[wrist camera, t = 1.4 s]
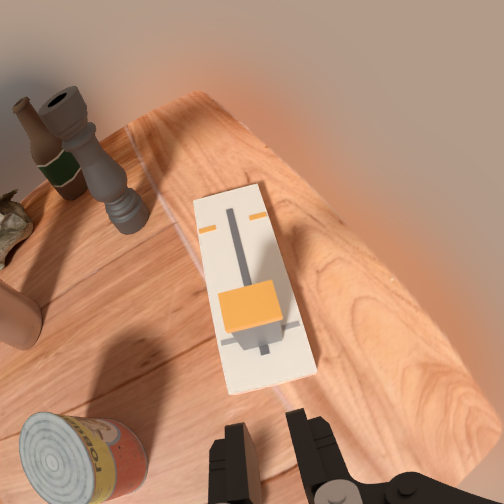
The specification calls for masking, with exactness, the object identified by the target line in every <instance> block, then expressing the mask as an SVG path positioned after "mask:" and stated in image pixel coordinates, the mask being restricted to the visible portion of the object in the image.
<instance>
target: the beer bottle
mask: <svg viewBox="0 0 504 504" xmlns="http://www.w3.org/2000/svg"><path fill="white" fill-rule="evenodd" d="M29 100H30V99H29V98H28V97H24V98H22V99H20V100H19V101H18V102H17V103H16V104H15V105H14V106H13V113H16V115H17V117H18V119H19V120H20V122H21V124H22V126H23V127H24V129H25V131H26V132H27V134H28V137H29V139H30V141H31V154H32V158H33V160H34V162H35V163H36V165H37V166H38V168H39V169H40V170H41V171H42V173H43V174H44V175H45V177H46V178H47V179H48V180H49V182H50V183H51V184H52V185H53V187H54V188H55V189H56V190H57V192H58V193H59V194H60V195H61V196H62V197H63V198H64V199H70V200H74V199H75V198H77V197H79V196H80V195H82V194H83V193H84V192H85V190H86V189H87V187H88V186H87V183H86V180H85V178H84V175H83V172H82V169H81V166H80V165H79V163H78V162H77V160H76V159H75V157H74V156H73V154H72V153H70V152H65V151H64V149H63V148H62V141H63V140H61V139H60V138H58V137H55V135H54V134H51V133H50V132H49V130H48V129H47V127H46V126H45V124H44V122H43V121H42V119H41V118H40V116H39V115H38V113H37V112H36V111H35V109H34V108H33V106H32V105H31V104H30V102H29Z"/></svg>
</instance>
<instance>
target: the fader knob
mask: <svg viewBox="0 0 504 504" xmlns="http://www.w3.org/2000/svg"><path fill="white" fill-rule="evenodd" d="M218 298H219V303H220V308H221V313H222V318H223V323H224V327H225V331H226V332H227V334H228V333H231V334H232V335H233V337H234V338H235V339H236V341H237V342H238V343H239V345H240V346H241V347H242V349H243V350H248V349H252V348H256V347H260V346H264V345H268V344H271V343H275V342H279V341H282V333H281V323H280V320H283V316H282V312H281V309H280V305H279V302H278V299H277V295H276V292H275V288H274V285H273V281H272V280H268V281H264V282H260V283H257V284H253V285H249V286H245V287H241V288H237V289H233V290H230V291H226V292H222V293H218Z"/></svg>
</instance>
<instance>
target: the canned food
mask: <svg viewBox="0 0 504 504" xmlns="http://www.w3.org/2000/svg"><path fill="white" fill-rule="evenodd" d="M19 453H20V459H21V463H22V467H23V470H24V472H25V474H26V476H27V478H28V480H29V482H30V484H31V485H32V487H33V488H34V489H35V491H36V492H37V493H38V494H39V495H40V496H41V497H42V498H43V499H44V500H45V501H46V502H47V503H49V504H99V503H102V502H105V501H108V500H111V499H114V498H117V497H119V496H122V495H125V494H129V493H132V492H134V491H136V490H137V489H139V488H140V487H141V486H142V484H143V483H144V481H145V479H146V476H147V470H148V463H147V457H146V453H145V450H144V448H143V446H142V444H141V442H140V440H139V439H138V437H137V436H136V435H135V434H134V433H133V432H132V431H131V430H130V429H129V428H128V427H127V426H125V425H124V424H122V423H120V422H118V421H116V420H112V419H106V418H102V419H96V418H84V417H74V416H66V415H58V414H53V413H50V412H38V413H35V414H33V415H32V416H30V417H29V418H28V419H27V420H26V422H25V423H24V425H23V427H22V430H21V433H20V438H19Z"/></svg>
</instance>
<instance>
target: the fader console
mask: <svg viewBox="0 0 504 504" xmlns="http://www.w3.org/2000/svg"><path fill="white" fill-rule="evenodd" d="M193 204H194V211H195V217H196V224H197V231H198V237H199V243H200V249H201V256H202V262H203V267H204V273H205V279H206V285H207V290H208V296H209V301H210V307H211V312H212V317H213V322H214V327H215V332H216V337H217V342H218V347H219V352H220V357H221V362H222V366H223V371H224V376H225V380H226V385H227V389H228V393H229V395H237V394H242V393H246V392H251V391H255V390H259V389H263V388H267V387H271V386H275V385H279V384H283V383H287V382H291V381H294V380H298V379H301V378H305V377H308V376H311V375H315V374H316V373H317V368H316V365H315V362H314V358H313V355H312V352H311V348H310V345H309V342H308V338H307V335H306V332H305V329H304V325H303V322H302V319H301V316H300V312H299V309H298V306H297V303H296V299H295V296H294V293H293V290H292V287H291V284H290V281H289V277H288V274H287V271H286V268H285V265H284V262H283V259H282V256H281V253H280V250H279V246H278V243H277V240H276V237H275V234H274V231H273V228H272V225H271V222H270V219H269V216H268V213H267V210H266V207H265V204H264V201H263V199H262V196H261V193H260V190H259V187H258V184H254V185H250V186H246V187H242V188H238V189H234V190H230V191H226V192H223V193H219V194H215V195H211V196H208V197H204V198H201V199H197V200H193ZM268 280H272V281H273V285H274V288H275V292H276V295H277V299H278V302H279V305H280V309H281V312H282V316H283V320H280V323H281V333H282V341H279V342H275V343H271V344H268V345H264V346H260V347H256V348H252V349H248V350H243V349H242V347H241V346H240V345H239V343H238V342H237V341H236V339H235V338H234V337H233V335H232V334H231V333H228V334H227V332H226V331H225V327H224V323H223V318H222V313H221V308H220V303H219V298H218V293H222V292H226V291H230V290H233V289H237V288H241V287H245V286H249V285H253V284H257V283H260V282H264V281H268Z"/></svg>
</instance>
